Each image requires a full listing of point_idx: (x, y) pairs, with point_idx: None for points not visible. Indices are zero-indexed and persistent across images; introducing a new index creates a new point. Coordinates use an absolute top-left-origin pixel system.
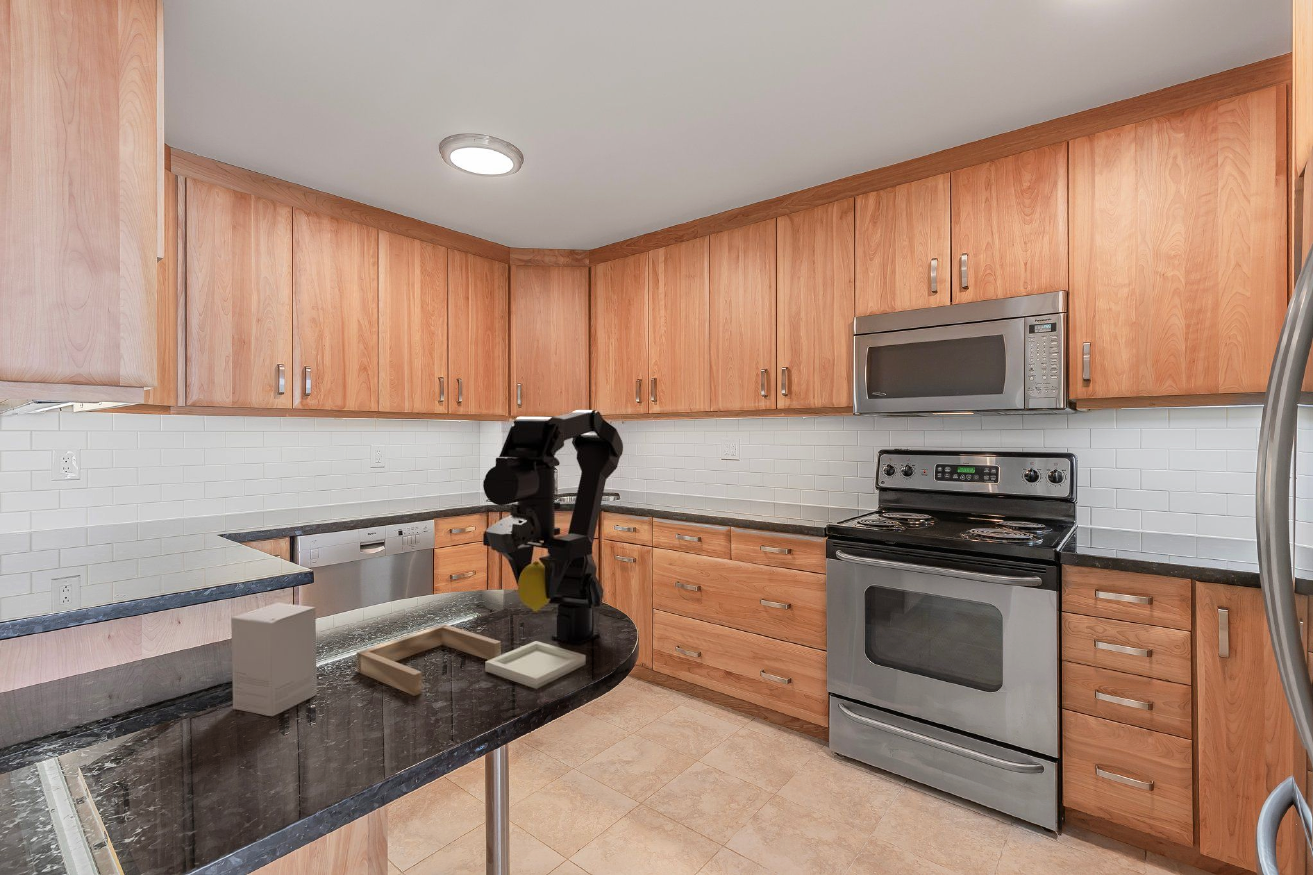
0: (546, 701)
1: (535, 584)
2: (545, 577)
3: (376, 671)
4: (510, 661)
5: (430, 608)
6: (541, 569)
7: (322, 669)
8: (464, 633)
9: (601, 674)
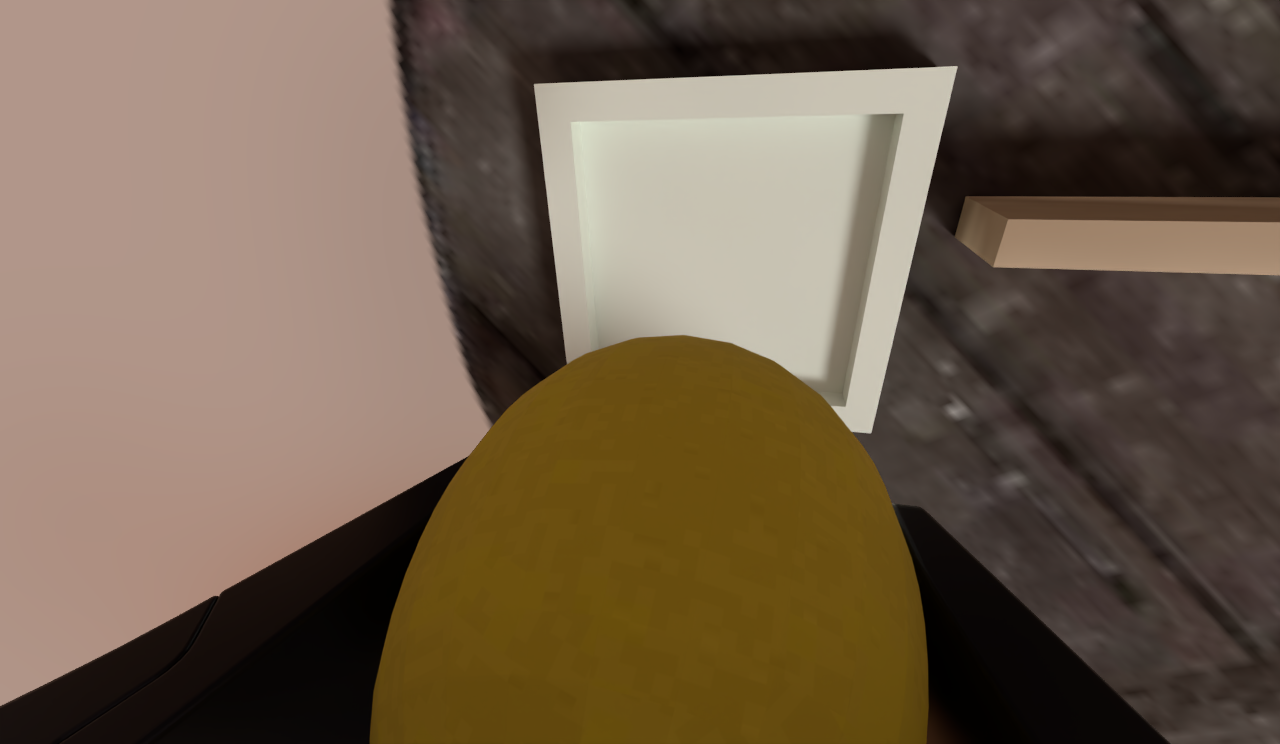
0: (424, 13)
1: (449, 494)
2: (267, 632)
3: None
4: (858, 217)
5: None
6: None
7: None
8: None
9: (478, 347)
